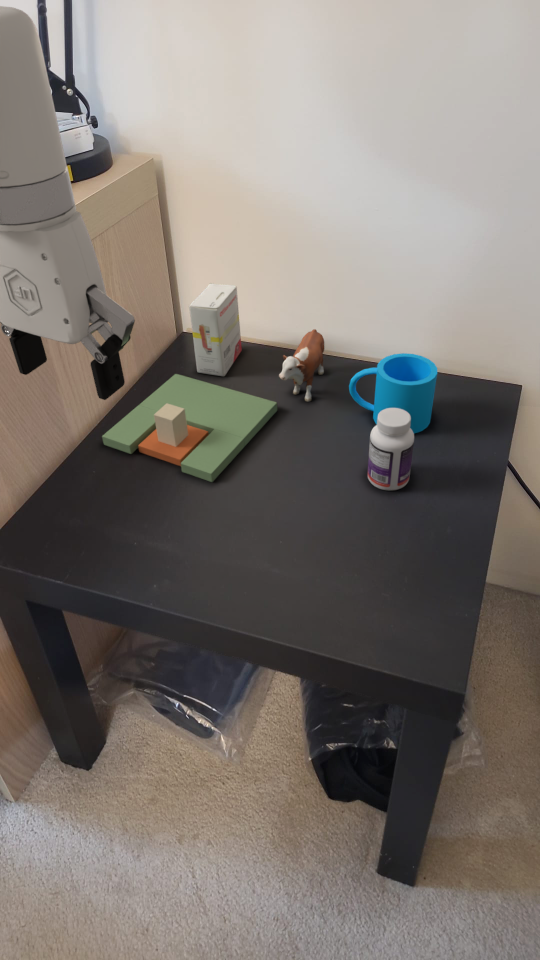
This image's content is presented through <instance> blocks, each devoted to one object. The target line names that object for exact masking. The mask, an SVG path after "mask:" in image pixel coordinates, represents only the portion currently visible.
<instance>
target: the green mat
mask: <svg viewBox="0 0 540 960" xmlns="http://www.w3.org/2000/svg"><path fill="white" fill-rule="evenodd" d="M166 403H167V404H171V405H174V406H177V407H180V408H184V409H185V415H186V422H187V425H189V426H192V427H196V428H199V429H202V430H205V431H208V434H209V435H208V436H207V437H206V438H205V439H204V440H203V441H202V442H201V443H200V444H199V445H198V446H197V447H196V448H195V449H194V450H193V451H192V452H191V453H190V454H189V455H188V456H187V457H186V458H185V459H184V460H183V461H182V462H181V466H180V468H181V472H182V473H184V474H187V475H190V476H193V477H195V478H199V479H201V480H204V481H207V482H210V483H213V482H214V481H215V480H216V479H217V478H218V477H219V476H220V475H221V473H223V471H224V470H225V469H226V468H227V467H228V466H229V464H230V463H232V461H233V460H234V459H235V458H236V457H237V455H239V454H240V452H242V451H243V449H244V448H245V447H246V446H247V444H248V443H250V441H251V440H253V438H254V437H255V436H256V435H257V434H258V433H259V431H260V430H261V429H262V428H264V426H265V425H266V424H267V423H268V422H269V420H270V419H271V418H272V417H273V416H274V415H275V414H276V413H277V411H278V402H277V401H274V400H271V399H266V398H262V397H259V396H256V395H252V394H249V393H246V392H242V391H238V390H235V389H231V388H227V387H224V386H220V385H218V384H213V383H210V382H206V381H203V380H200V379H195V378H193V377H188V376H186V375H182V374H178V373H174V374H173V375H172V376H171V377H170V378H169V379H168V380H166V381H165V382H164V383H162V384H161V385H160V386H159V387H158V388H157V389H156V390H155V391H153V392H152V393H151V394H150V395H149V396H147V397H146V398H145V399H144V400H143V401H141V403H139V404H137V406H136V407H134V409H132V410H131V411H130V412H129V413H127V414H126V415H125V416H124V417H123V418H121V419H120V420H119V421H118V422H117V423H116V424H114V426H112V427H111V428H110V429H109V430H107V431H106V432H104V434H102V436H101V438H102V443H103V445H104V446H107V447H109V448H112V449H116V450H118V451H121V452H124V453H126V454H130V455H133V454H134V452H135V451H136V450H137V449H139V447H138V445H139V444H140V443H141V442H142V441H144V440H145V439H146V438H147V437H148V436H149V435H150V434H151V433H152V432H153V431H154V430H156V424H155V418H154V414H155V413H156V412H157V411H159V410H160V409H161V408H162V407H163V406H164V405H165V404H166Z"/></svg>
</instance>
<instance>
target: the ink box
mask: <svg viewBox="0 0 540 960" xmlns="http://www.w3.org/2000/svg"><path fill="white" fill-rule="evenodd" d="M188 309H189V315H190V325H191V331H192V340H193V346H194V349H193V350H194V356H195V364H196V371H197V373H199V374H205V375H210V376H217V377H226V375H227V373H228V372H229V370H230V369H231V367H232V366H233V364H234V363H235V362H236V360H237V359H238V357H239V355H240V354H241V352H242V350H243V349H242V338H241V337H242V336H241V323H240V311H239V301H238V287H237V286H236V285H234V284H224V283H223V284H222V283H221V284H220V283H214V282H213V283H212V282H210V283H209V284H208V285H207V286H205V288H204V289H203V290H202V291H201V292H200V293H199V294H198V295H197V296H196V298H195V299H194V300H193V301H192V302H191V303H190V304H188Z"/></svg>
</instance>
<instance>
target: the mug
mask: <svg viewBox="0 0 540 960" xmlns="http://www.w3.org/2000/svg"><path fill="white" fill-rule="evenodd" d="M370 375H376V377H375V388H374V389H375V391H374V402H373V404H372V403H371V402H368V401H367V400H365V399H364V398H362V396H360V394H359V392H358V391H357V383H358V382H359V380H360V379H362V378H363V377H365V376H370ZM437 379H438V367H437V365H436V363H435V362H433V361H432V360H431V359H429V358H427V357H425V356H423V355H419V354H414V353H407V352H406V353H405V352H403V353H401V352H400V353H394V354H389V355H386V356H385V357H384V358H381V359H380V361H379V362H378V363H377V365H376V367H369V368H368V367H367V368H364V369H362V370H360V371H358V372H356V373H355V374H353V376H352V378H351V379H350V380H349V385H348V390H349V394H350V396H351V398H352V400H353V401H354V402H355V403H356V404H358V405H359V406H360V407H362V408H364V409H366V410H368V411H371V412H373V415H372V419H373V421H374V423H375V425H377V418H378V414H379V412H381V411H382V410H384V409H387V408H399V409H403V410H405V411H407V412H408V413H409V414H410V416H411V425H410V428H411V429H412V431H413V433H414V435H415V434H418V433H421V432H423V431H424V430H425V429H427V428H428V427H429V425H430V424H431V419H432V412H433V406H434V398H435V392H436V387H437Z"/></svg>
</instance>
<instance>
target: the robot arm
mask: <svg viewBox="0 0 540 960" xmlns="http://www.w3.org/2000/svg"><path fill="white" fill-rule="evenodd" d="M43 52H44V51H43V47H42V43H41V39H40V36H39V32H38V29H37V27H36V24H35V22H34V20H33V19H32V18H31V17H30V15H29V14H27V13H26V12H25V11H23V10H21V9H19V8H16V7H12V6H4V5H0V324H1V325H0V330H1V332H2V333H3V335H5V336H6V337H9V338H8V340H9V344H10V346H11V349H12V350H11V351H12V353H13V355H14V360H15V361H16V365H17V368H18V371H19V373H20V374H21V375H24V376H27V375H29V374H31V373H32V372H33V371H35V370H37V369H38V368H39V367H41V366H43V364H45V363H47V361H48V357H47V354H46V350H45V346H44V343H43V339H42V338H44V339H47V340H51V341H55V342H58V343H63V344H68V345H76V344H78V343H81V344H82V345H83V346H84V348H85V349H86V350H87V351H88V352H89V354H90V355H91V356H92V357H93V360H91V361H90V368H91V373H92V378H93V381H94V385H95V390H96V394H97V397H98V399H100V400H103V401H107V399H109V398H110V397H111V396H112V395H114V394H115V393H116V392H118V391H119V390H120V389H121V388H123V387H124V386H125V376H124V371H123V366H122V362H121V356H120V352H121V351H122V350H123V349H124V347H125V346H126V345H127V344H128V343H129V342H130V341H131V336H132V335H131V334H132V331H133V328H134V325H135V321H136V318H135V317H134V315H133V314H132V313H131V312H129V310H127V309H125V308H124V307H123V306H122V305H120V304H119V303H118V302H117V301H116V300H113V299H112V298H111V297H110V296H109V295H107V290H106V286H105V282H104V278H103V274H102V269H101V267H100V264H99V261H98V260H99V259H98V257H97V253H96V251H95V247H94V245H93V242H92V239H91V235H90V233H89V230H88V228H87V224H86V223H85V221H84V217H83V216H82V213H81V212H80V211H77V205H76V200H75V196H74V191H73V187H72V182H71V178H70V173H69V168H68V166H67V165H68V164H67V161H66V154H65V152H64V145H63V142H62V137H61V132H60V127H59V123H58V119H57V114H56V108H55V104H54V98H53V95H52V89H51V85H50V80H49V76H48V71H47V66H46V61H45V56H44V53H43ZM95 332H97V333H98V334H99V335H100V336H101V338H102V339H103V340H104V342H103V343H102V344H100V342H99V341H98V340H97V339H96V338H95V336H94V335H93V334H94V333H95Z"/></svg>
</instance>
